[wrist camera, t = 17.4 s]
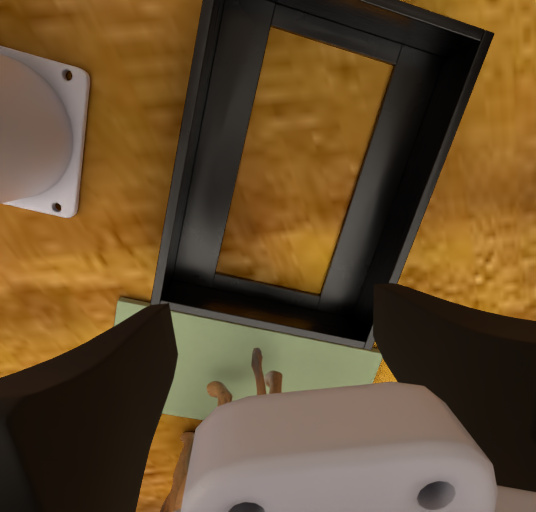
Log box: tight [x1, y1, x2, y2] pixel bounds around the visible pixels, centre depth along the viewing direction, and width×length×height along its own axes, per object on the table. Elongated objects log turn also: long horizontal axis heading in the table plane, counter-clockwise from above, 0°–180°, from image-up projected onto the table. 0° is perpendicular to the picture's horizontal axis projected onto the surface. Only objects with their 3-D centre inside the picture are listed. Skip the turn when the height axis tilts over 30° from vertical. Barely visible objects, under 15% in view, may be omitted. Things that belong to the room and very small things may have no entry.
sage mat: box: [114, 297, 383, 420], centre depth 24 cm, size 18×8×1 cm, turn 76°
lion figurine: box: [160, 348, 283, 512], centre depth 20 cm, size 15×5×9 cm, turn 163°
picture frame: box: [150, 0, 494, 350], centre depth 19 cm, size 13×17×3 cm
